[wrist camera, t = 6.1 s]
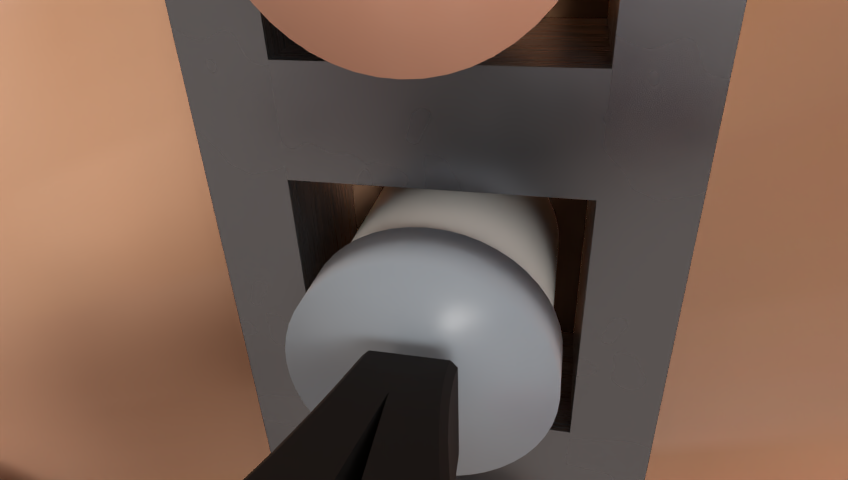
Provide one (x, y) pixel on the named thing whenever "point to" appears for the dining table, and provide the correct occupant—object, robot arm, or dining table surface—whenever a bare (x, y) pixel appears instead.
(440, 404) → the robot arm
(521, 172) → the panel
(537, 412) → the slate button
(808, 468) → the dining table surface
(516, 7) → the peach ball
